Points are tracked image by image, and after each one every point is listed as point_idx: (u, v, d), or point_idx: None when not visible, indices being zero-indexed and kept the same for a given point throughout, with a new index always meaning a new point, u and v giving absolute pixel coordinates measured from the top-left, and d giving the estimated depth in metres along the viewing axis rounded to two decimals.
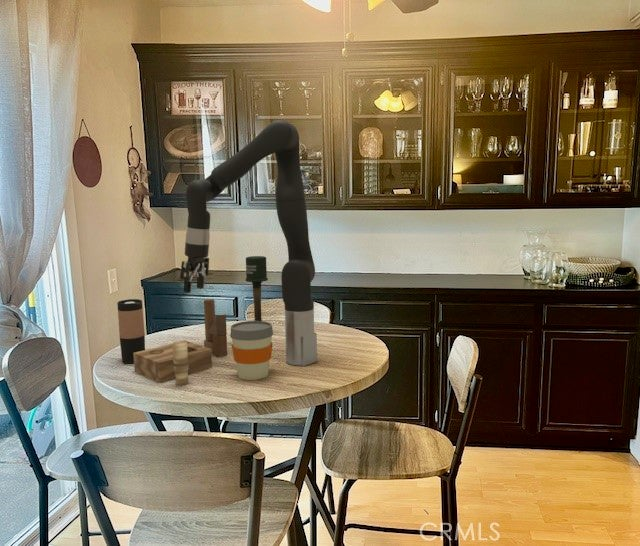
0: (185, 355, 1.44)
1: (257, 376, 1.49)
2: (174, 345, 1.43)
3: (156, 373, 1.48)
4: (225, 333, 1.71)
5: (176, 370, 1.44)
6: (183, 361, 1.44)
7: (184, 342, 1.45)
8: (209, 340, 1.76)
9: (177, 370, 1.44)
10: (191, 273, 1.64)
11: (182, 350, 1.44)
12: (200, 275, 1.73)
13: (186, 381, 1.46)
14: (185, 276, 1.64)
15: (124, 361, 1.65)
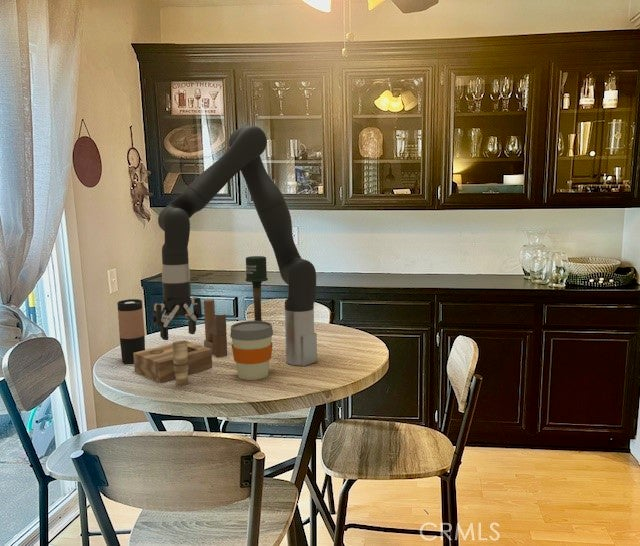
0: (185, 355, 1.44)
1: (257, 376, 1.49)
2: (174, 345, 1.43)
3: (156, 373, 1.48)
4: (225, 333, 1.71)
5: (176, 370, 1.44)
6: (183, 361, 1.44)
7: (184, 342, 1.45)
8: (209, 340, 1.76)
9: (177, 370, 1.44)
10: (167, 317, 1.40)
11: (182, 350, 1.44)
12: (190, 318, 1.47)
13: (186, 381, 1.46)
14: (161, 321, 1.41)
15: (124, 361, 1.65)
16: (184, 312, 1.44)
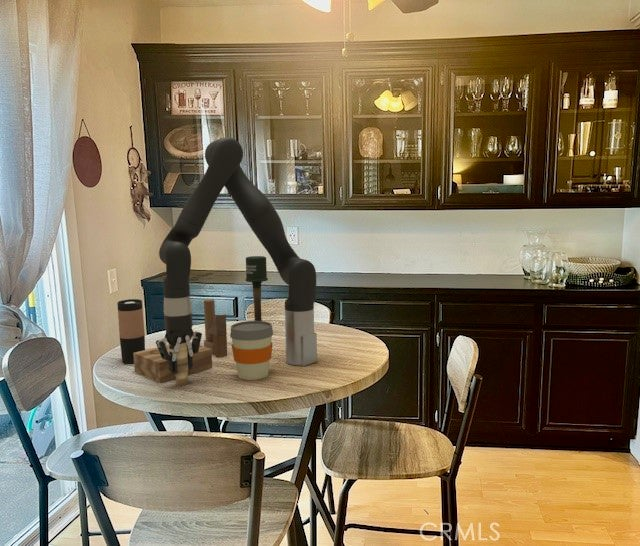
0: (185, 355, 1.44)
1: (257, 376, 1.49)
2: None
3: (156, 373, 1.48)
4: (225, 333, 1.71)
5: None
6: (183, 361, 1.44)
7: None
8: (209, 340, 1.76)
9: (177, 370, 1.44)
10: (172, 351, 1.43)
11: (182, 350, 1.44)
12: None
13: (186, 381, 1.46)
14: (169, 355, 1.44)
15: (124, 361, 1.65)
16: None
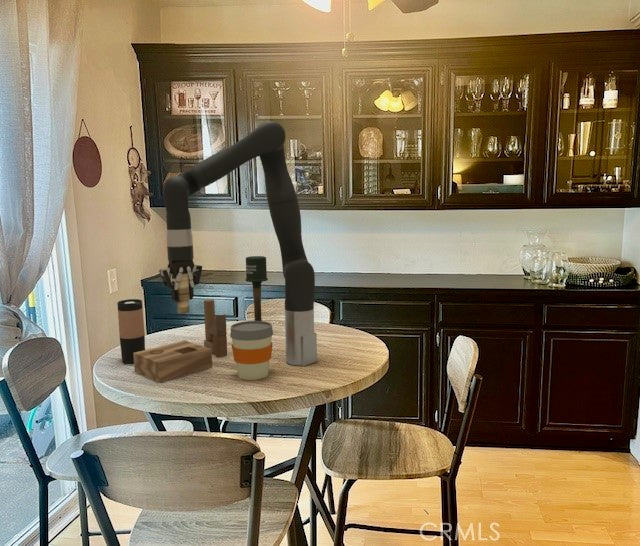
0: (186, 285, 1.54)
1: (257, 376, 1.49)
2: None
3: (156, 373, 1.48)
4: (225, 333, 1.71)
5: None
6: (184, 290, 1.54)
7: None
8: (209, 340, 1.76)
9: (179, 299, 1.54)
10: (175, 280, 1.52)
11: (184, 280, 1.54)
12: None
13: (187, 310, 1.56)
14: (171, 284, 1.54)
15: (124, 361, 1.65)
16: None
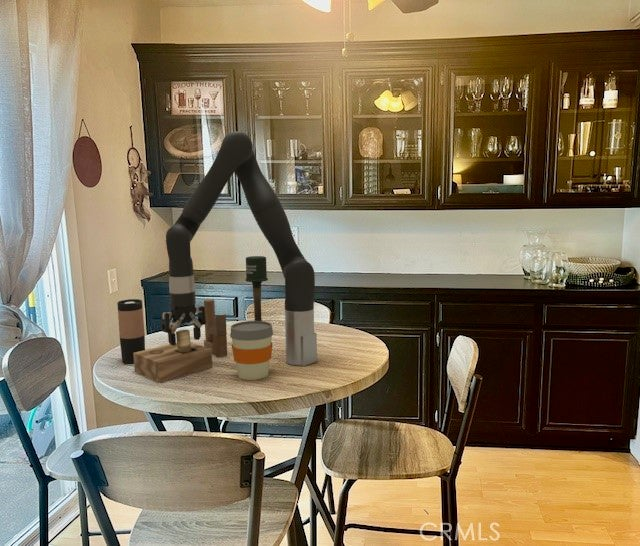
0: (188, 343, 1.57)
1: (257, 376, 1.49)
2: (177, 334, 1.56)
3: (156, 373, 1.48)
4: (225, 333, 1.71)
5: None
6: (186, 348, 1.56)
7: (187, 331, 1.57)
8: (209, 340, 1.76)
9: None
10: (174, 324, 1.54)
11: (185, 338, 1.56)
12: (195, 325, 1.60)
13: None
14: (169, 328, 1.54)
15: (124, 361, 1.65)
16: (190, 319, 1.57)
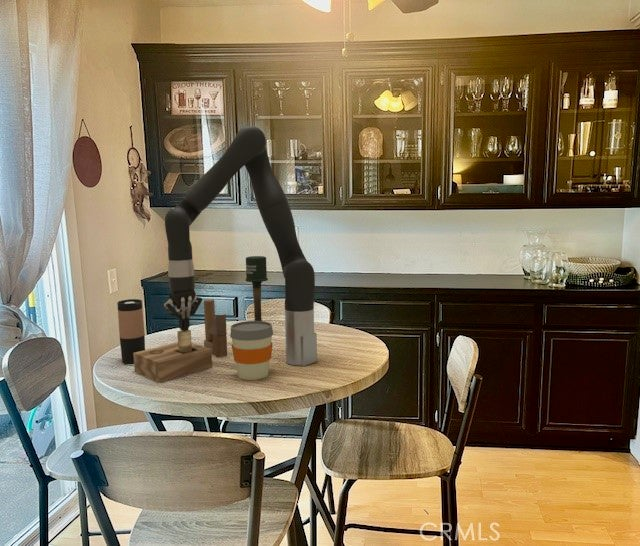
0: (189, 343, 1.57)
1: (257, 376, 1.49)
2: (179, 333, 1.56)
3: (156, 373, 1.48)
4: (225, 333, 1.71)
5: None
6: (187, 348, 1.57)
7: (188, 331, 1.58)
8: (209, 340, 1.76)
9: None
10: (180, 311, 1.55)
11: (186, 338, 1.56)
12: None
13: None
14: (178, 314, 1.56)
15: (124, 361, 1.65)
16: (185, 303, 1.56)
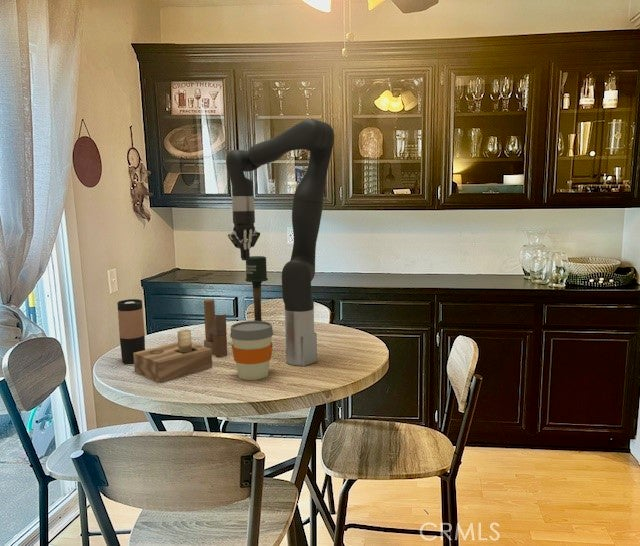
0: (189, 343, 1.57)
1: (257, 376, 1.49)
2: (179, 333, 1.56)
3: (156, 373, 1.48)
4: (225, 333, 1.71)
5: None
6: (187, 348, 1.57)
7: (188, 331, 1.58)
8: (209, 340, 1.76)
9: None
10: (242, 242, 1.75)
11: (186, 338, 1.56)
12: None
13: None
14: None
15: (124, 361, 1.65)
16: (246, 236, 1.76)
